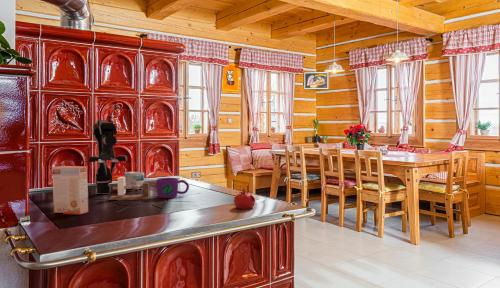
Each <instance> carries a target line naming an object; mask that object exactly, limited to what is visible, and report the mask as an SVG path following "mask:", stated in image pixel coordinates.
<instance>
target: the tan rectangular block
mask: <svg viewBox="0 0 500 288" xmlns="http://www.w3.org/2000/svg"><path fill="white" fill-rule="evenodd" d="M117 186H118V189H117V196H121V195H126V191H127V190H126V189H124V186H125V176H119V177H117Z"/></svg>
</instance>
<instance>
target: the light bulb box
mask: <svg viewBox="0 0 500 288" xmlns="http://www.w3.org/2000/svg"><path fill="white" fill-rule="evenodd" d="M124 177H125V186H132V185H135V186H138V185H142V184H143V183H144V182H145V172H141V171H128V172H124ZM138 189H140V188H138Z"/></svg>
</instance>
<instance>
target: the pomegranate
mask: <svg viewBox="0 0 500 288" xmlns="http://www.w3.org/2000/svg"><path fill="white" fill-rule="evenodd" d="M245 190H246V188H245V187H243V188H242V191H235V193H236V194H237V193H238V194H237V195H236V194H235V196H234V198H233V203H234V206H235V208H237V209H240V210H250V209H252V208H253V207H255V204H256V198H255V196H254V195H253V193H252V191H249V190H247V191H245Z"/></svg>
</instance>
